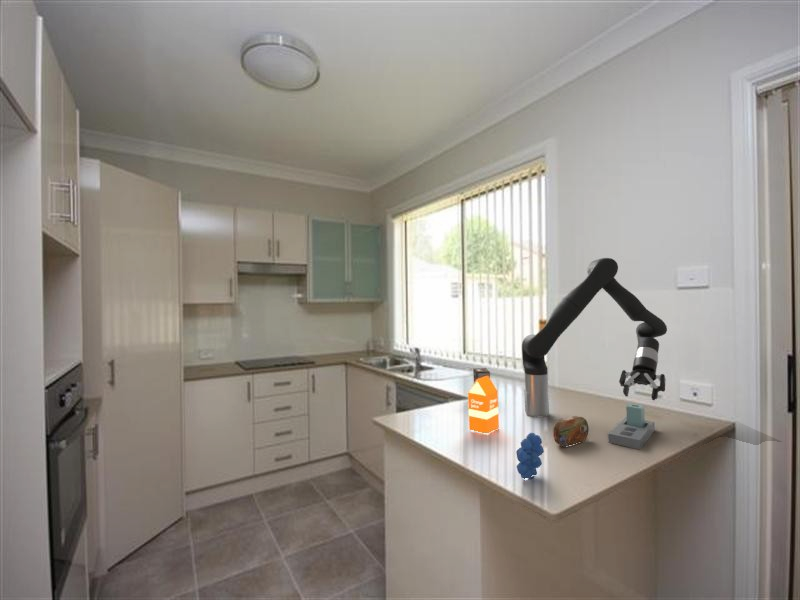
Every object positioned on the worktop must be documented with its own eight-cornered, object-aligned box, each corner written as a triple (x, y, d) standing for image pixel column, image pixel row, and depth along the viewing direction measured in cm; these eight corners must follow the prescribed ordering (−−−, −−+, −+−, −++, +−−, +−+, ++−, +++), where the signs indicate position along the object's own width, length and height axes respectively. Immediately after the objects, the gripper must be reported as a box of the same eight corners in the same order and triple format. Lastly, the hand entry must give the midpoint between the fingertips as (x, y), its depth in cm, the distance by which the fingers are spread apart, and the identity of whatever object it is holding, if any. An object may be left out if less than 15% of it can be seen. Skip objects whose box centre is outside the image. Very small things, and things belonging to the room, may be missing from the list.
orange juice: (469, 431, 137) (467, 378, 137) (481, 425, 143) (479, 374, 143) (487, 436, 131) (485, 380, 131) (499, 429, 138) (497, 376, 138)
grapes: (527, 465, 108) (526, 425, 108) (549, 473, 102) (548, 430, 102) (505, 479, 100) (503, 435, 100) (528, 488, 95) (526, 442, 95)
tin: (559, 449, 118) (558, 423, 118) (551, 446, 121) (550, 421, 121) (590, 440, 125) (589, 415, 125) (581, 437, 127) (580, 413, 127)
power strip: (640, 449, 116) (639, 438, 116) (608, 442, 122) (608, 431, 122) (654, 430, 131) (654, 420, 131) (626, 424, 137) (625, 415, 137)
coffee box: (474, 401, 176) (472, 368, 176) (487, 400, 176) (486, 367, 176) (477, 406, 167) (476, 371, 167) (491, 406, 167) (490, 371, 167)
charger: (627, 431, 130) (626, 405, 130) (630, 428, 133) (629, 402, 133) (642, 434, 127) (641, 408, 127) (645, 430, 130) (644, 405, 130)
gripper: (622, 354, 145) (615, 388, 137) (666, 357, 135) (661, 394, 127) (626, 365, 149) (619, 399, 141) (669, 369, 139) (664, 406, 131)
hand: (639, 397), depth 134 cm, fingers open, 8 cm apart
